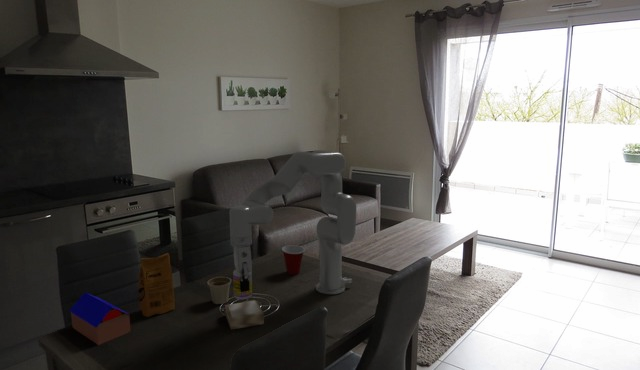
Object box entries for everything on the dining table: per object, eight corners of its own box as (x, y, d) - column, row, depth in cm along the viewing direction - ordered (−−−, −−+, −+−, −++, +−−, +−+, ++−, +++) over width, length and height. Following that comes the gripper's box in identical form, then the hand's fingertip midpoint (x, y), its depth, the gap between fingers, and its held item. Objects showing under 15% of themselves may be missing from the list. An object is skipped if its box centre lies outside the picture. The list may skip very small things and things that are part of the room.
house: (97, 346, 149) (94, 313, 147) (71, 328, 161) (67, 297, 159) (132, 332, 158) (129, 301, 156) (104, 316, 170) (101, 287, 168)
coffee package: (138, 309, 175) (133, 255, 171) (170, 301, 182) (166, 249, 178) (143, 319, 167) (138, 263, 163) (177, 310, 173) (173, 256, 169)
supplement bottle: (230, 298, 163) (228, 264, 160) (240, 291, 169) (238, 258, 166) (246, 301, 160) (245, 267, 158) (255, 294, 166) (254, 261, 164)
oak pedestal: (256, 309, 174) (256, 299, 173) (264, 323, 163) (263, 312, 162) (225, 315, 170) (225, 304, 169) (230, 329, 158) (230, 318, 158)
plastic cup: (298, 278, 205) (298, 253, 203) (278, 274, 209) (277, 250, 207) (309, 270, 214) (308, 246, 212) (289, 267, 219) (288, 243, 217)
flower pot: (226, 307, 176) (225, 286, 175) (204, 305, 178) (203, 284, 176) (235, 297, 185) (234, 277, 184) (214, 295, 187) (213, 276, 185)
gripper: (256, 245, 154) (258, 294, 157) (246, 232, 170) (248, 277, 173) (235, 248, 151) (236, 298, 155) (226, 234, 167) (228, 280, 171)
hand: (242, 286), depth 164 cm, fingers closed on supplement bottle, 6 cm apart
